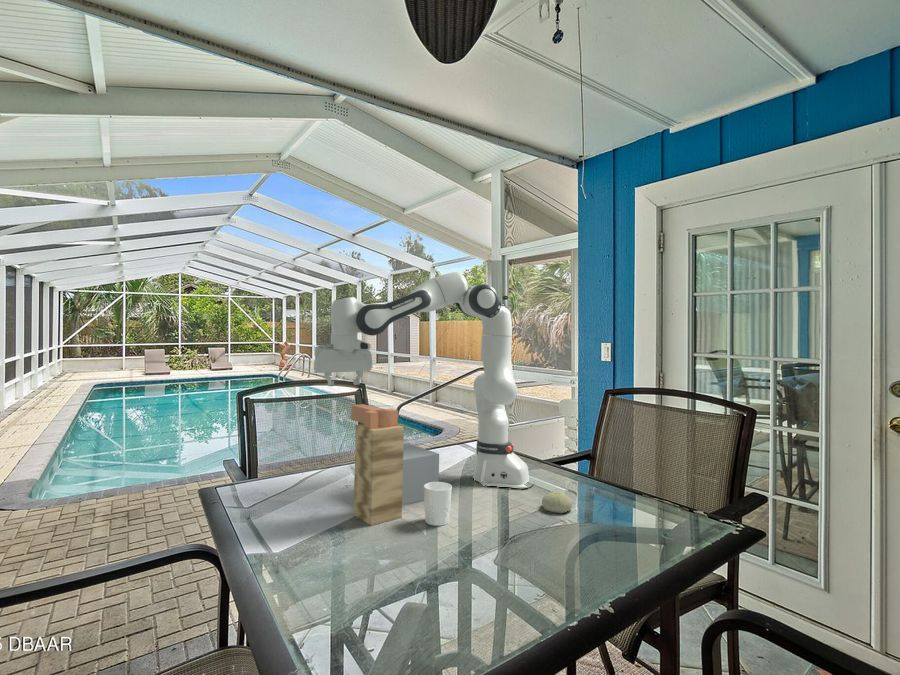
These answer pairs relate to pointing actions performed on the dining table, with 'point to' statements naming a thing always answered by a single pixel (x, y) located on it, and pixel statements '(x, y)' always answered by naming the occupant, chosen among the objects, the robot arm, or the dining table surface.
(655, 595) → the dining table surface
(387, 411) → the terracotta notched block
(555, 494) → the sea urchin shell
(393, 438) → the pedestal
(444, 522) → the white cup
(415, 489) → the low block
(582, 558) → the dining table surface
